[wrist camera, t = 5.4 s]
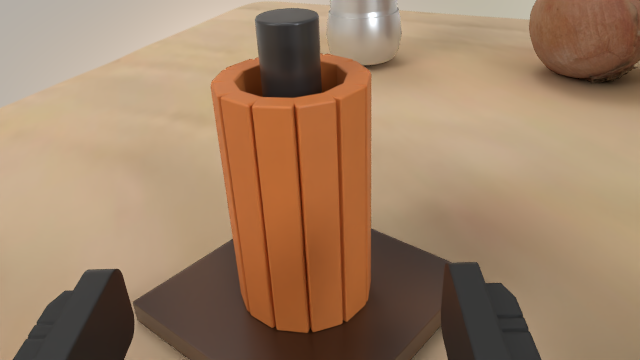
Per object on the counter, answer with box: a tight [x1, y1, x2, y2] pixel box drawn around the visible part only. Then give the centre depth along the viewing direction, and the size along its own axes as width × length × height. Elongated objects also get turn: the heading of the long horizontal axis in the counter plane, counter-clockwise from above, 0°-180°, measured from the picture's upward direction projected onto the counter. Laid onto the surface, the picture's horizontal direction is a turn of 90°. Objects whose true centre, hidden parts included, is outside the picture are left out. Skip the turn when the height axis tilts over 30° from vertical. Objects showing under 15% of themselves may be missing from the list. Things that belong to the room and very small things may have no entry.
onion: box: [529, 0, 640, 83], centre depth 43 cm, size 10×9×10 cm
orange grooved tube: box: [211, 53, 371, 333], centre depth 21 cm, size 5×5×9 cm
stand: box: [133, 8, 452, 360], centre depth 21 cm, size 10×10×12 cm
